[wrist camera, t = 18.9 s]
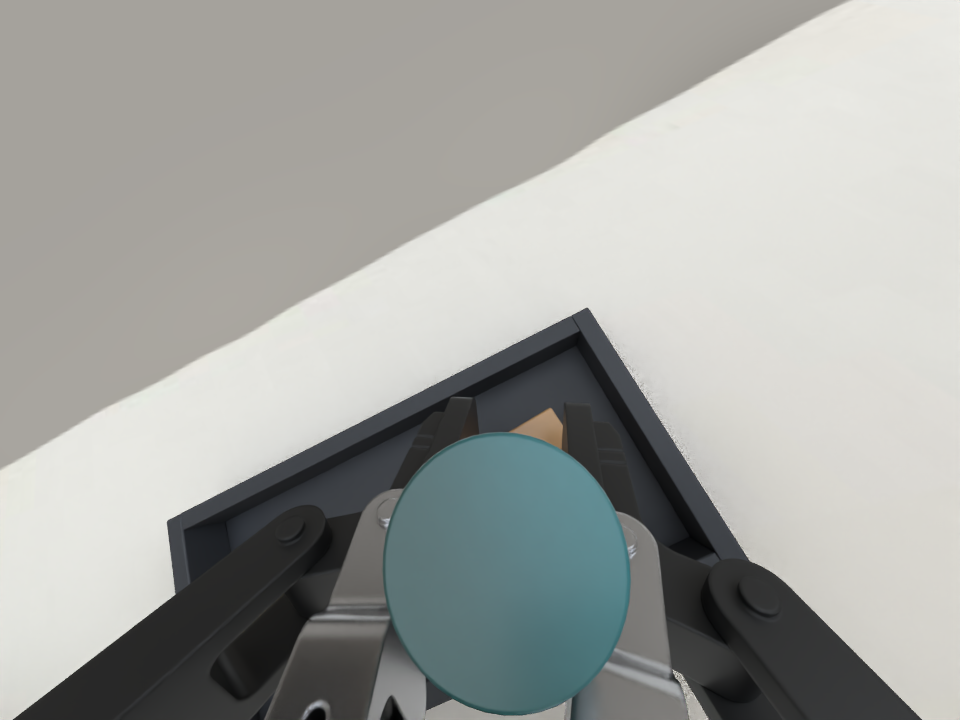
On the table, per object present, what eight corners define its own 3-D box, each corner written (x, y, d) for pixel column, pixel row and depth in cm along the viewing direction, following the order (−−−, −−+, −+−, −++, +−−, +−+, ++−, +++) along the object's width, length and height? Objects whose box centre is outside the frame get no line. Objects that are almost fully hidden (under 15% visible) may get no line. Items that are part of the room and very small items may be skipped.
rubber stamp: (544, 418, 16) (622, 279, 4) (595, 499, 14) (895, 601, 3) (431, 485, 15) (191, 525, 4) (474, 575, 14) (302, 1021, 3)
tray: (581, 329, 17) (587, 306, 14) (714, 544, 14) (753, 566, 11) (221, 510, 18) (165, 520, 16) (261, 747, 15) (200, 811, 12)
